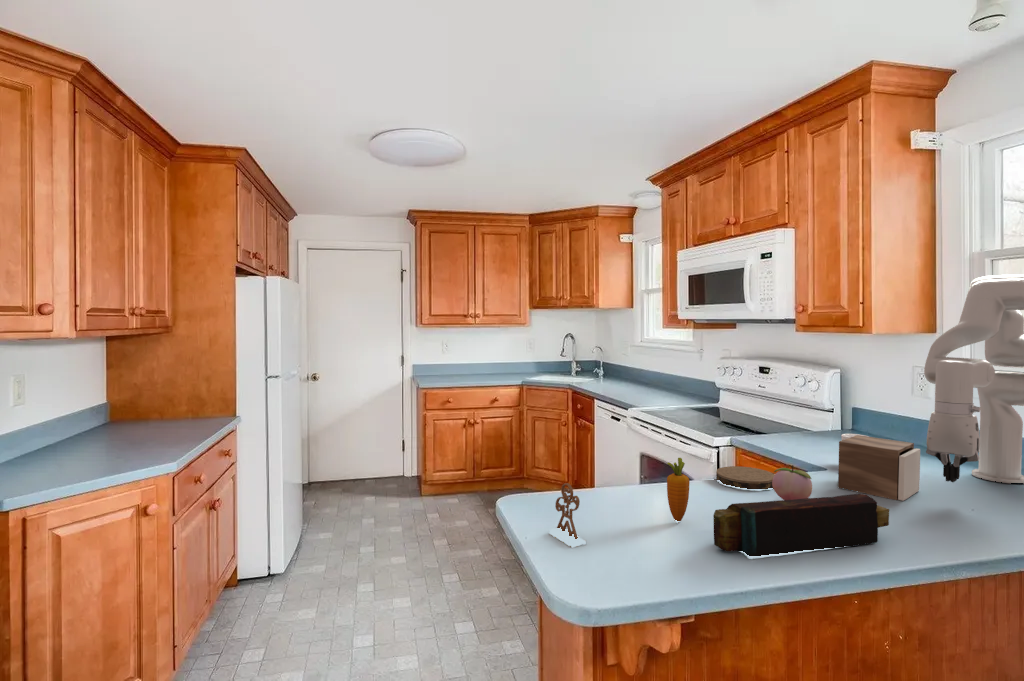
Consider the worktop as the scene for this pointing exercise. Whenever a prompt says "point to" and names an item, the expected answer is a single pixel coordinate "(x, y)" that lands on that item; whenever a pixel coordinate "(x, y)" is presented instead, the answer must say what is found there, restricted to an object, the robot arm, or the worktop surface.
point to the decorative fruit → (792, 484)
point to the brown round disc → (745, 477)
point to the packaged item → (799, 524)
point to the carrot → (677, 490)
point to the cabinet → (871, 465)
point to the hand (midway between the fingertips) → (951, 480)
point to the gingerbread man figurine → (567, 513)
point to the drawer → (909, 474)
